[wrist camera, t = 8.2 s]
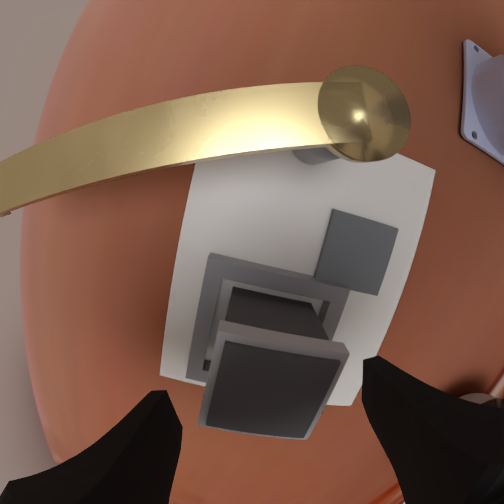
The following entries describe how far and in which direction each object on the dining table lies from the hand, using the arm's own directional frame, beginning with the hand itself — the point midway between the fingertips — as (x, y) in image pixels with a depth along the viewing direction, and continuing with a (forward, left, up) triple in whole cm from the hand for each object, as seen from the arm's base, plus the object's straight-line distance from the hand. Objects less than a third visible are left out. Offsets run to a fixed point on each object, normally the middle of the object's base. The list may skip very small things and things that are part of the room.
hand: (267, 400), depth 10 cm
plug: (0, 0, -6) cm, 6 cm away
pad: (-4, -5, -6) cm, 8 cm away
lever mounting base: (-1, -3, -7) cm, 7 cm away
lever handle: (+5, -7, -1) cm, 9 cm away
